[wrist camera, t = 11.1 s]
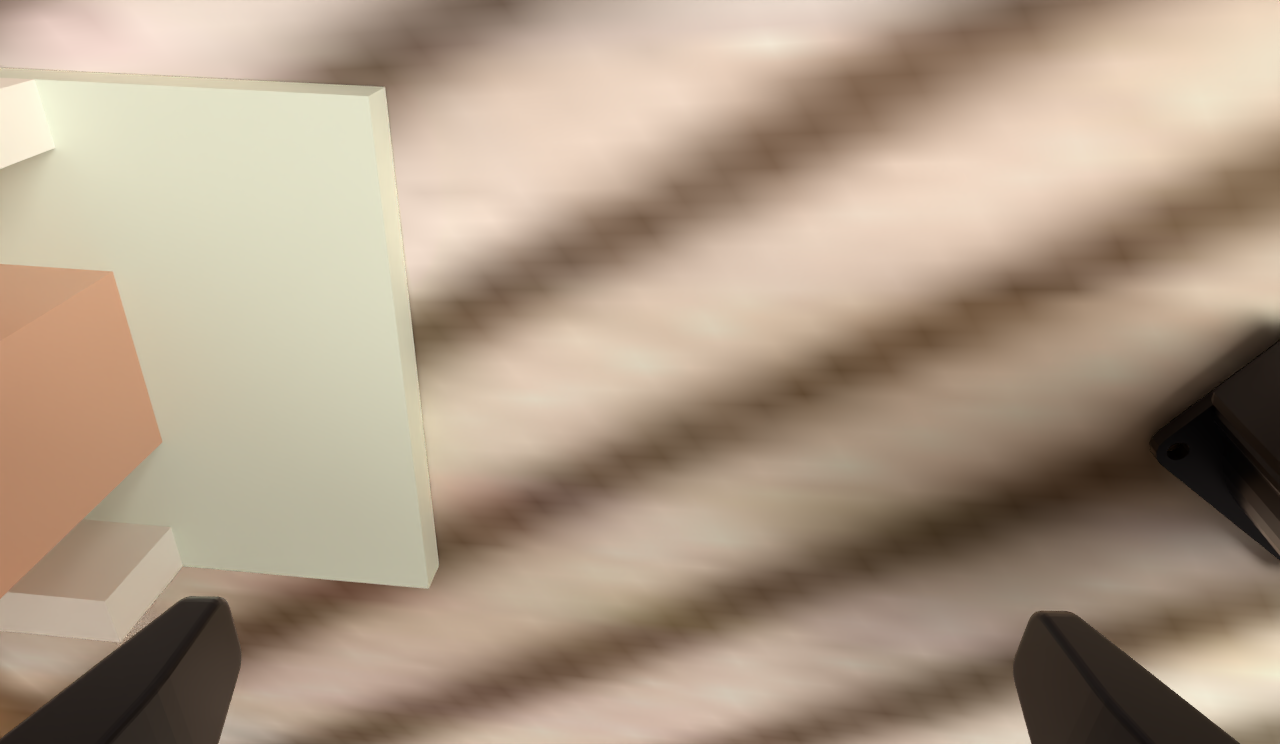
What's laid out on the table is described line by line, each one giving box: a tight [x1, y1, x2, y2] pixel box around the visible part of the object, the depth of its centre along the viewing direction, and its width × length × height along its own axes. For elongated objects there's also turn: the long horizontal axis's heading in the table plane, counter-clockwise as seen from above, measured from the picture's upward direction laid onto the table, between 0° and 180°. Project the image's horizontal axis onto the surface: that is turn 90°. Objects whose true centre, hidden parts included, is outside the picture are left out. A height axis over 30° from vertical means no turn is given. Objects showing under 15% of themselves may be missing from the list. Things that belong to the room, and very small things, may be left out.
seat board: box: [0, 68, 439, 643], centre depth 21 cm, size 16×14×4 cm
